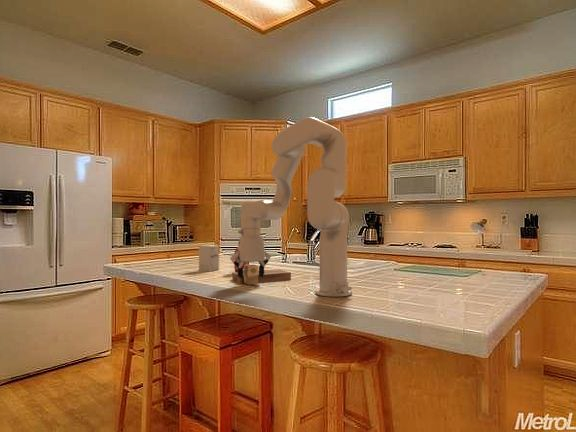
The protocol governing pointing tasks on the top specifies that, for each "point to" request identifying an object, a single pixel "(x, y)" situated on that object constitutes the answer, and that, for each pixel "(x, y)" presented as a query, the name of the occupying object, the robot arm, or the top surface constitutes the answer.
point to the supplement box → (208, 258)
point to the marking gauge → (250, 274)
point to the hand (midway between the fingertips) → (251, 276)
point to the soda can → (238, 261)
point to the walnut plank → (266, 276)
